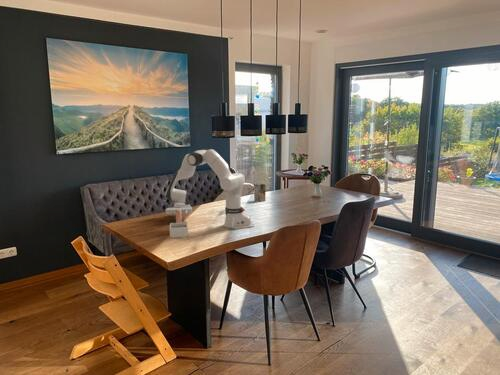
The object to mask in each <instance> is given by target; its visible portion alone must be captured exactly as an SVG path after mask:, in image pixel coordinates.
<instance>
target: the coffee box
mask: <svg viewBox="0 0 500 375" xmlns="http://www.w3.org/2000/svg"><path fill="white" fill-rule="evenodd" d="M253 199H254V200H253V202H256V203H261V202H266V184H264V183H258V184H257V183H256V184H254V185H253Z"/></svg>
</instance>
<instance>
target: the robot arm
mask: <svg viewBox="0 0 500 375" xmlns="http://www.w3.org/2000/svg"><path fill="white" fill-rule="evenodd" d="M205 164H207V165H208V166H209V167H210V169H211V170H212V171H213V172H214V173H215V175H216V176H217V178H218V179H219V186H220V188H221V189H222V190H224V191H227V193H226V195H225V207H224V208H225V209H224V214H225V218H224V224H223V226H224V227H225V228H227V229H232V230H239V229H246V228H253V227H255V223H254V222H253V221H252V220H251V217H250V216H249V215H248V214H247V213H246V212H245V211H246V210H245V208H244V207H243V206H242V204H241V200H242V193H243V192H242V191H243V188H244V184H245V183H246V178H245V175H244V174H243V173H240V172H234V173H232V172H231V170H230V168H229V167H230V166H229V164H228V162H227V161H226V160H225V159H224V158H223V157H222V156H221V155H220V154H219V153H218V152H217V151H216V150H215V149H212V148H211V149H205V148H204V149H200V150H199V149H198V150H195V151H192V152H190V153H187V154H185V156H184V158H182V162H181V167H180V168H179V169H178V170H176V171H175V172H174V174H173V176H172V178H171V180H170V183H169V185H168V187H167V189H166V190H165V193H164V197H165V199H167V201H175V202H174V203H173V207H167V208H165V215H176V210H181V215H183V214H184V215H186V214H192V213H193V207H192V206H191V204H188V202H189V192H188V191H187V190H184V189H178V188H175V186H176V184H177V182H178V181H180V180H186V179H190V178H192V177H193V176H194V174H195V171H196V168H197V167H198V166H201V165H202V166H203V165H205Z"/></svg>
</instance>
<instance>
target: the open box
mask: <svg viewBox="0 0 500 375" xmlns="http://www.w3.org/2000/svg"><path fill="white" fill-rule="evenodd" d="M188 227H189V226H188V222H182V223H176V222H171V223H169V238H170V239H171V238H173V239H174V238H175V239H176V238H189V231H188V229H189V228H188Z"/></svg>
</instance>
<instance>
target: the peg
mask: <svg viewBox="0 0 500 375" xmlns="http://www.w3.org/2000/svg"><path fill="white" fill-rule="evenodd" d="M182 215H183V214H181V210H176V214H175V223H183V220H182V218H183V217H182Z"/></svg>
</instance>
